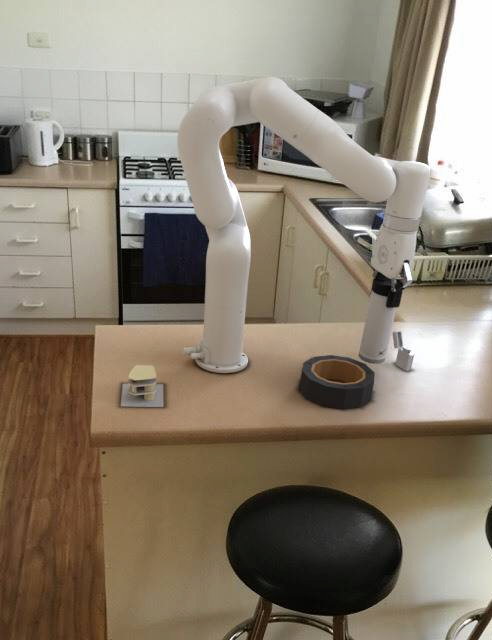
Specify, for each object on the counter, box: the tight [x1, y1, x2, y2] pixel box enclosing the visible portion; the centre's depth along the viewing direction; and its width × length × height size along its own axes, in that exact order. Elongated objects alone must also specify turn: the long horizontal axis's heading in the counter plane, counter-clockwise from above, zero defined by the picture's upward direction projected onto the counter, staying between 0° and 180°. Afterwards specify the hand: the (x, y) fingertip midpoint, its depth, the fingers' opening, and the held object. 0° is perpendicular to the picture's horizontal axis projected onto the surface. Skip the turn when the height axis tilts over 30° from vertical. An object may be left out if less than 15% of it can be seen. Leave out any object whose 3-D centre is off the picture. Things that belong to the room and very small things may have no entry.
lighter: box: [391, 330, 415, 372], centre depth 170 cm, size 7×2×8 cm, turn 28°
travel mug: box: [358, 276, 400, 365], centre depth 160 cm, size 6×7×20 cm
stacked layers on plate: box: [120, 364, 164, 408], centre depth 149 cm, size 10×9×6 cm
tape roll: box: [298, 354, 376, 410], centre depth 157 cm, size 16×16×5 cm
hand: (384, 300), depth 157 cm, fingers closed on travel mug, 6 cm apart
